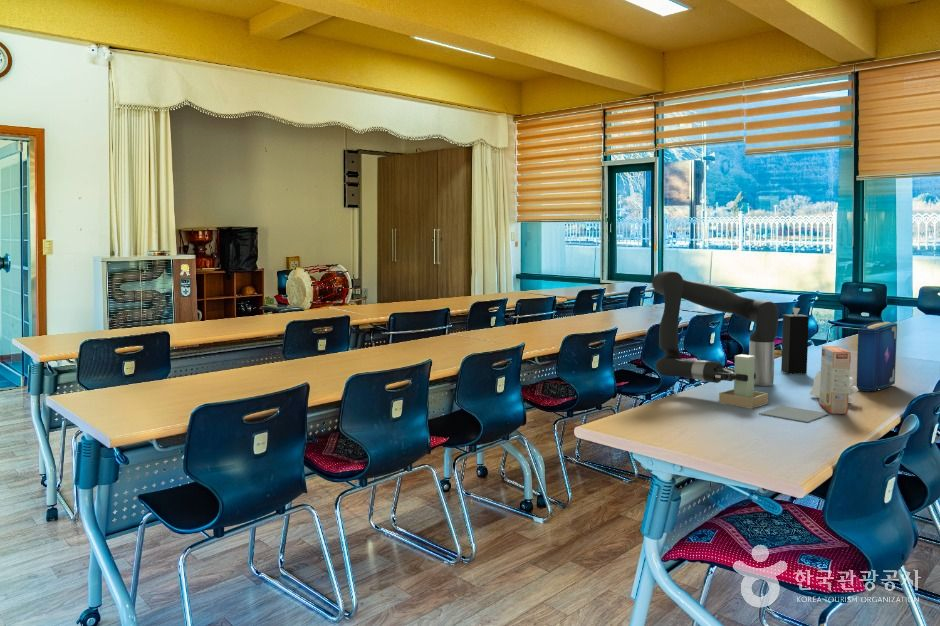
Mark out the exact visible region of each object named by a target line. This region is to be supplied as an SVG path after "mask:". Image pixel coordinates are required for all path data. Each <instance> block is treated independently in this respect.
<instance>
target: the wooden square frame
mask: <svg viewBox="0 0 940 626" xmlns="http://www.w3.org/2000/svg"><path fill="white" fill-rule="evenodd" d="M718 395H719V396H718V403H719V404H723V403H724V405H729V404H730V406H735V405H736V406H735V407H740V406H742V408H746V407H747V409H753V408H754V407H755V408H757V406H758V407H760V405H761V406H764V405H767V404H769V392H768V393H767V392H761V391H755V390H754V395H753V397H752V398H749V397H743V396H737V395H734V388H733V389H730V390H729V389H728V390H725V391H722V392H719V394H718ZM766 403H767V404H766ZM763 404H764V405H763Z"/></svg>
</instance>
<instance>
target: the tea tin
mask: <svg viewBox="0 0 940 626" xmlns="http://www.w3.org/2000/svg"><path fill="white" fill-rule="evenodd" d="M754 363H755V356H752V355H749V354H743V353H741V354H737V355H734V368H735V373H737V374H743V375H748V381H739V380H737V381H734V380H733V381H734V382H733V383H734V384H733V389H734V395H737V396H743V397H749V398H752V397H753V395H754V391H755V389H754V388H755V385H754Z"/></svg>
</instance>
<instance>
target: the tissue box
mask: <svg viewBox="0 0 940 626" xmlns="http://www.w3.org/2000/svg"><path fill="white" fill-rule="evenodd" d="M800 310H801V308H798V307H792V312H793V314H792V313H791V314H782V338H781V339H782V341H781V366H780V367H781V369H780V370H781V372H782V371H783V372H782V373H784V372H785V373H784V374H787V375H807V374H808V348H809V345H808V344H809V322H810V316H809V315H805V314H801V313H800V314H798V313H799V312H800Z"/></svg>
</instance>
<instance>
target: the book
mask: <svg viewBox="0 0 940 626" xmlns="http://www.w3.org/2000/svg"><path fill="white" fill-rule="evenodd" d="M897 333H898V323H897V322H890V321H886V322H884V321H883V322H882V321H880V320H879V321H873V322H870V323H867V324H865V325H864V326H861V327H859V328H858V329H857V359H856V363H857V364H856V368H857V369H856V387H857V388H858V391H861V390H862V392H869V391H872V392H874V391H879V390H878V389H882V390H884V389H887V388H890V386H892V385H895V384H896V366H897V365H896V364H897V362H896V361H897V337H898V334H897ZM886 387H887V388H886ZM883 388H884V389H883Z"/></svg>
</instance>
